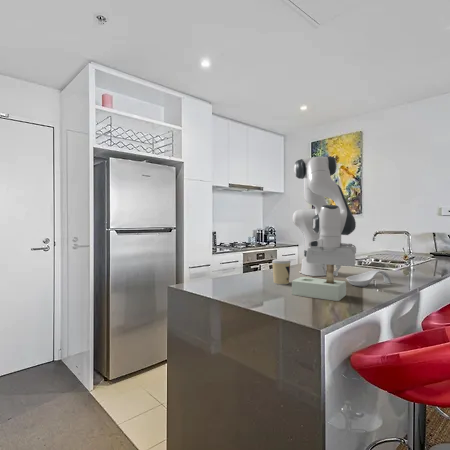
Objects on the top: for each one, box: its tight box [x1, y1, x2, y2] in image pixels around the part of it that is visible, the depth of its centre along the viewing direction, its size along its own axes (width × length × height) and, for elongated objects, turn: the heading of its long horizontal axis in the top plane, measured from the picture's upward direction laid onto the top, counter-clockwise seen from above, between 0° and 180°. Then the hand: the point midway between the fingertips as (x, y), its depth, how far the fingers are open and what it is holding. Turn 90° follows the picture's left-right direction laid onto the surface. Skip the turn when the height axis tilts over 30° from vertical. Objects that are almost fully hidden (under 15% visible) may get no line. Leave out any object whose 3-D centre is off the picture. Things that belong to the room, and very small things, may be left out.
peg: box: [325, 264, 335, 284], centre depth 134 cm, size 3×3×10 cm
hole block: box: [291, 276, 347, 302], centre depth 137 cm, size 12×20×6 cm, turn 55°
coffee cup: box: [271, 258, 291, 286], centre depth 162 cm, size 9×9×12 cm
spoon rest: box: [345, 269, 392, 288], centre depth 158 cm, size 24×12×7 cm, turn 107°
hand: (330, 275), depth 134 cm, fingers closed on peg, 3 cm apart
